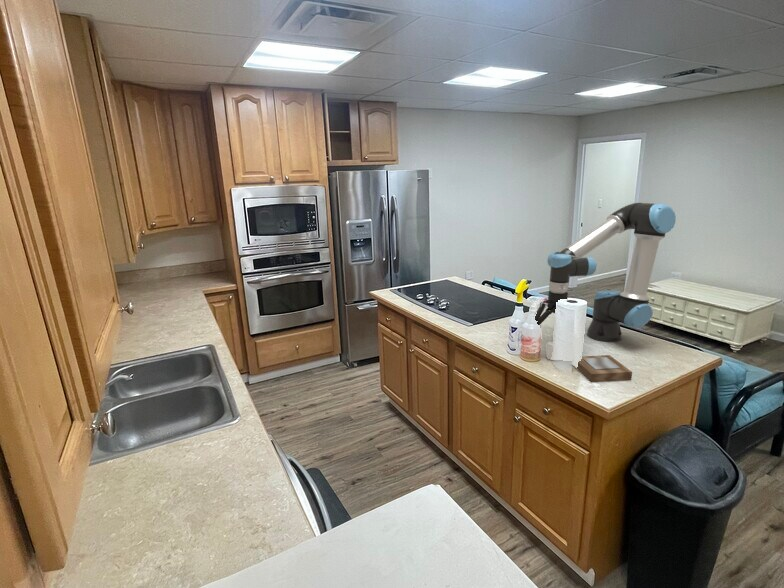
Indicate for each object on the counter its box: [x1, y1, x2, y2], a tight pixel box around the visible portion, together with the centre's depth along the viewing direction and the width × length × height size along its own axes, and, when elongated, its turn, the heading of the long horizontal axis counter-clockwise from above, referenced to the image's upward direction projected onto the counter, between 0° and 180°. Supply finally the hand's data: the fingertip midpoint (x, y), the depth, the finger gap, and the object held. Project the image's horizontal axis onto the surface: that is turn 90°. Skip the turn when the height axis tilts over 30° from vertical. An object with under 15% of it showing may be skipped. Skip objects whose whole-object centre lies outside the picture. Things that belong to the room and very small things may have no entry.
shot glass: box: [545, 340, 554, 359], centre depth 183 cm, size 7×7×7 cm
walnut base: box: [576, 354, 633, 383], centre depth 169 cm, size 16×16×4 cm
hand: (553, 338), depth 181 cm, fingers open, 13 cm apart
